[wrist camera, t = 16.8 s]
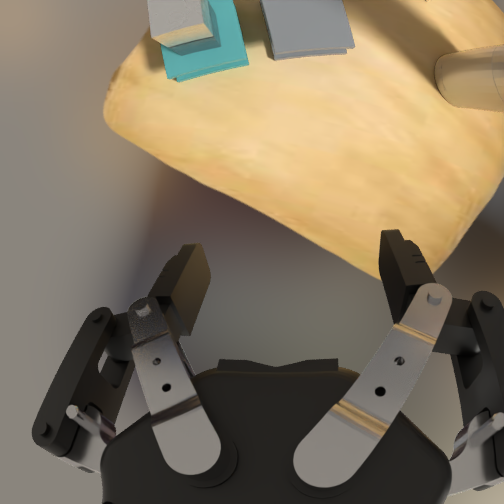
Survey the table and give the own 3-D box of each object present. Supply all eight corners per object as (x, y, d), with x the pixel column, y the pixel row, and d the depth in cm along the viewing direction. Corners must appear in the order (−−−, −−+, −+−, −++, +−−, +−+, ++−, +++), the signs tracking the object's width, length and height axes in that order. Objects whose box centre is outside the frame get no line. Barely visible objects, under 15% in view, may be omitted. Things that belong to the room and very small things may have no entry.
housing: (215, 14, 25) (197, -18, 16) (221, 46, 28) (203, 23, 19) (177, 23, 26) (146, -2, 17) (181, 55, 28) (151, 37, 19)
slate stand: (329, -4, 26) (336, -17, 22) (345, 54, 31) (355, 46, 26) (259, 2, 28) (258, -12, 23) (274, 60, 32) (275, 53, 28)
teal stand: (235, 6, 28) (230, -7, 24) (249, 65, 33) (246, 57, 28) (167, 25, 30) (155, 15, 25) (179, 82, 34) (167, 78, 30)
